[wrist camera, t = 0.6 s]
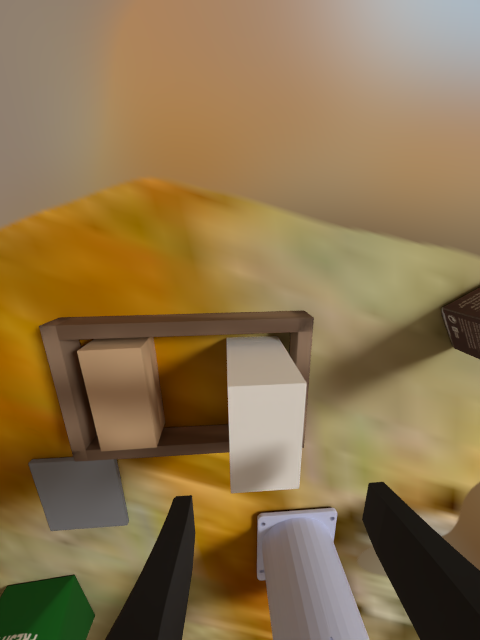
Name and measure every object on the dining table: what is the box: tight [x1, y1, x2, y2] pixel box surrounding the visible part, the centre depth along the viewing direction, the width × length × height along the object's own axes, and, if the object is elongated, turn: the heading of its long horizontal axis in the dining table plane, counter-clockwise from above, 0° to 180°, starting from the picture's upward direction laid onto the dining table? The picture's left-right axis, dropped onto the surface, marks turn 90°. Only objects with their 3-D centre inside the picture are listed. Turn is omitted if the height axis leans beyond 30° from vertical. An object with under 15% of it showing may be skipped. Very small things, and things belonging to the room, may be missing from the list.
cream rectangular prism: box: [227, 336, 307, 493], centre depth 16 cm, size 7×4×7 cm, turn 1°
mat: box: [28, 457, 129, 531], centre depth 22 cm, size 8×7×1 cm
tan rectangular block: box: [77, 337, 165, 451], centre depth 18 cm, size 8×4×3 cm, turn 2°
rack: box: [39, 311, 314, 462], centre depth 18 cm, size 11×18×2 cm, turn 91°
